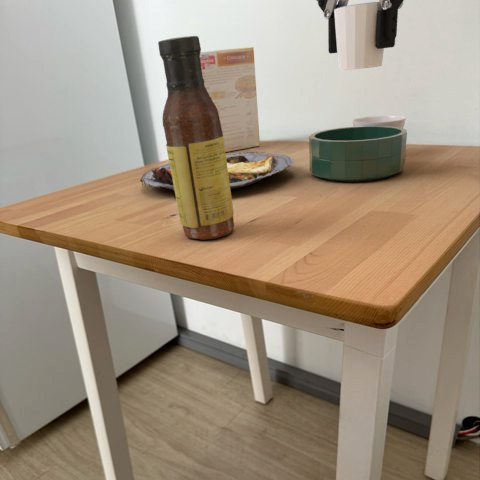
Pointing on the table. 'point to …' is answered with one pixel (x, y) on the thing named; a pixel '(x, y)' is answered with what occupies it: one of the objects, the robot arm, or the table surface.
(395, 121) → the pale round bowl
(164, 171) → the food plate
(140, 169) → the table surface
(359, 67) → the white faceted cup
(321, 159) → the green round tub
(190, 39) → the sauce bottle
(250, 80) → the coffeecake box
